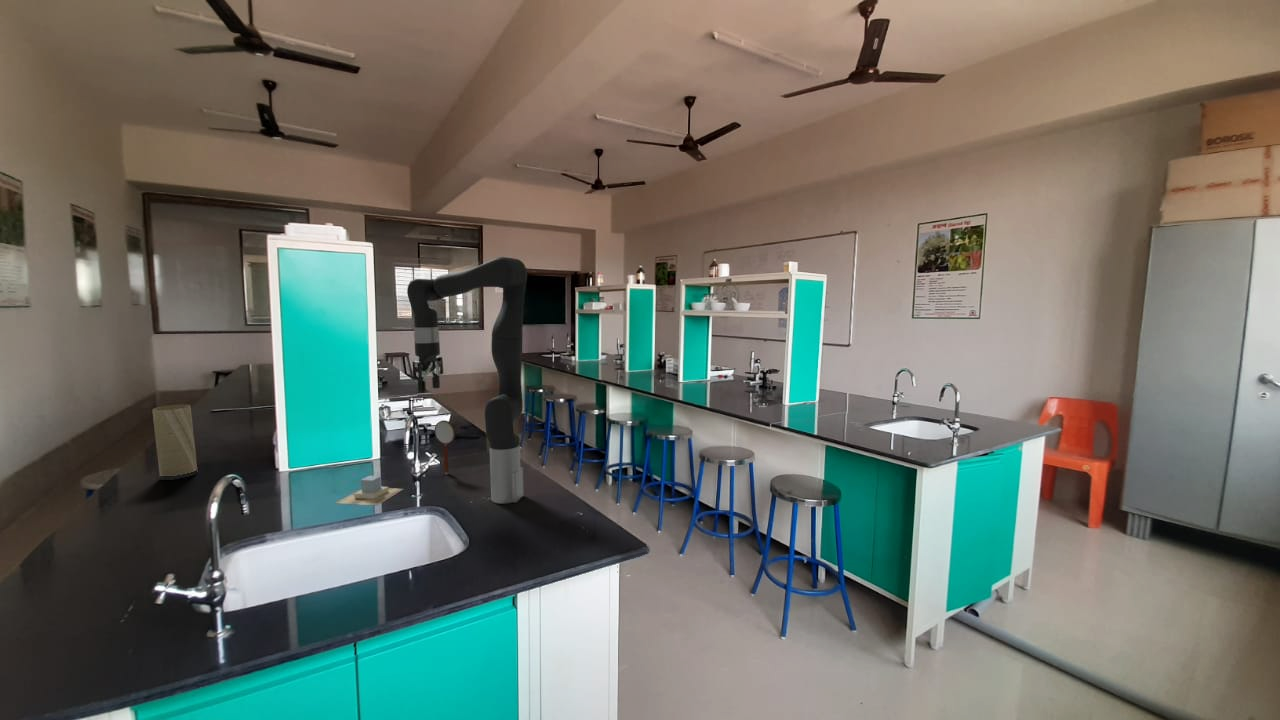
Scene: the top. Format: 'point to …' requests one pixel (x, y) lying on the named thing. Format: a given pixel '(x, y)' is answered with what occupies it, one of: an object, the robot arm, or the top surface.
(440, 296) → the robot arm
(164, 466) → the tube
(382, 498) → the cork mat
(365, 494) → the tile
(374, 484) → the block
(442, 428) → the magnifying glass
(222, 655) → the top surface
